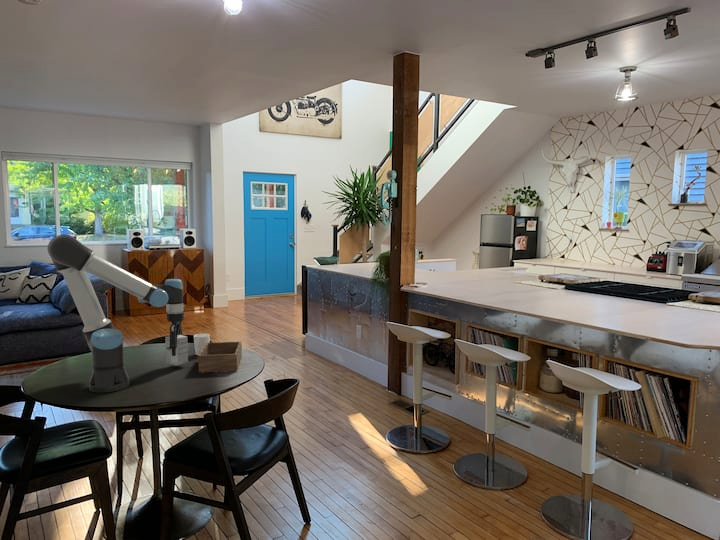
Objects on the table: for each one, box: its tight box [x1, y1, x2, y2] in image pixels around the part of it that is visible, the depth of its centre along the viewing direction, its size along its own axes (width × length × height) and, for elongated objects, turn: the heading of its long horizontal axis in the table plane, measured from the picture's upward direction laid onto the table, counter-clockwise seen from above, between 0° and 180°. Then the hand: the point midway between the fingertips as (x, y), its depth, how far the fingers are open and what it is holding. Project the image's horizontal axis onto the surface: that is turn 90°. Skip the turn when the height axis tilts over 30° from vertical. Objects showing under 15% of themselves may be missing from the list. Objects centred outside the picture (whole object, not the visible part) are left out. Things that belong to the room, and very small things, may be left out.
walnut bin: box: [197, 341, 243, 373], centre depth 245 cm, size 24×17×8 cm
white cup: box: [193, 333, 211, 356], centre depth 263 cm, size 8×8×10 cm
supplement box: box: [164, 334, 189, 366], centre depth 241 cm, size 7×7×13 cm
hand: (177, 359), depth 242 cm, fingers closed on supplement box, 10 cm apart
